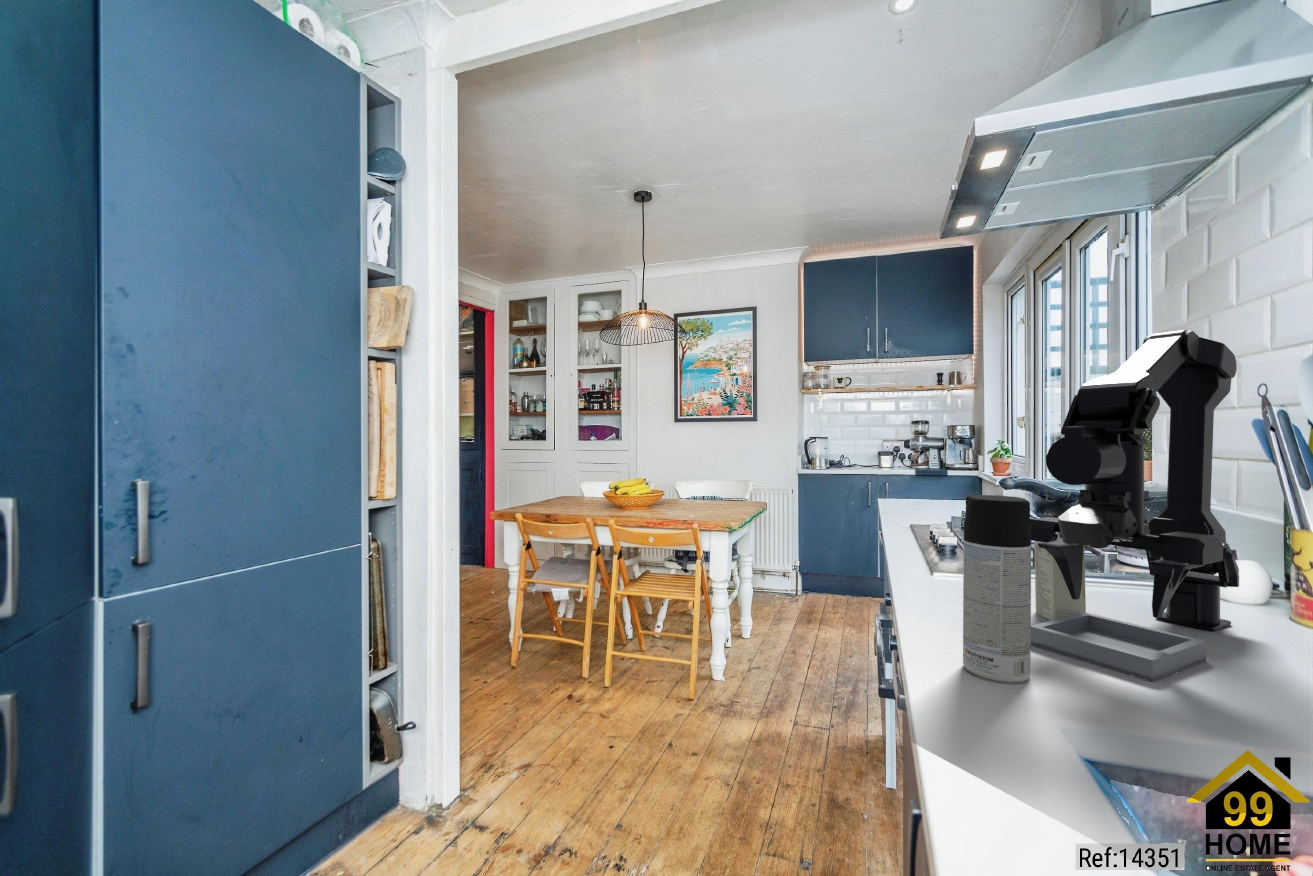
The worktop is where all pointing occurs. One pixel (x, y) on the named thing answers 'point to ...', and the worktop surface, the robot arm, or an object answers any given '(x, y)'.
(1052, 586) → the skincare box
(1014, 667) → the spray can
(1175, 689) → the worktop surface
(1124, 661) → the tray
